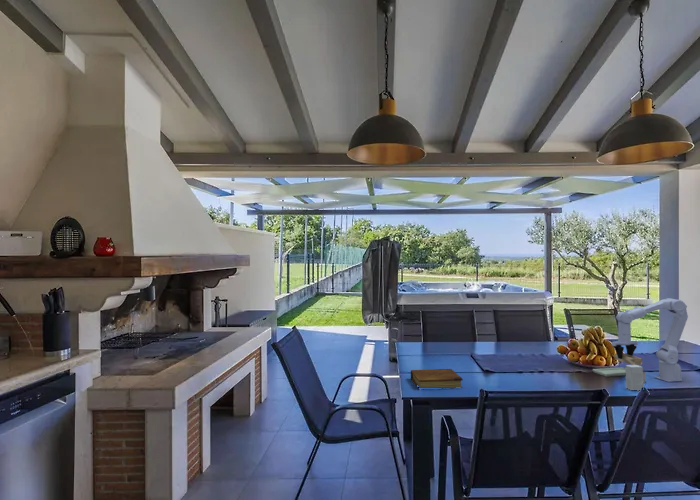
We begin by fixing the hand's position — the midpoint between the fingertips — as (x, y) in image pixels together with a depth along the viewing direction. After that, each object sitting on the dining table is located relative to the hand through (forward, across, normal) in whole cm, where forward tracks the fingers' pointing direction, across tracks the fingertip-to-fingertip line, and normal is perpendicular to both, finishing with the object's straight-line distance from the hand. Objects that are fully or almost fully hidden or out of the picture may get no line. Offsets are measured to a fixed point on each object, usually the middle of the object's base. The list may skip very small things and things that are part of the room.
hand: (624, 358), depth 220 cm
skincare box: (+11, +12, +18) cm, 24 cm away
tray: (+10, 0, -8) cm, 13 cm away
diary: (+12, +107, -9) cm, 108 cm away
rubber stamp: (+10, -2, +10) cm, 14 cm away
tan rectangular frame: (+1, 0, +2) cm, 3 cm away
